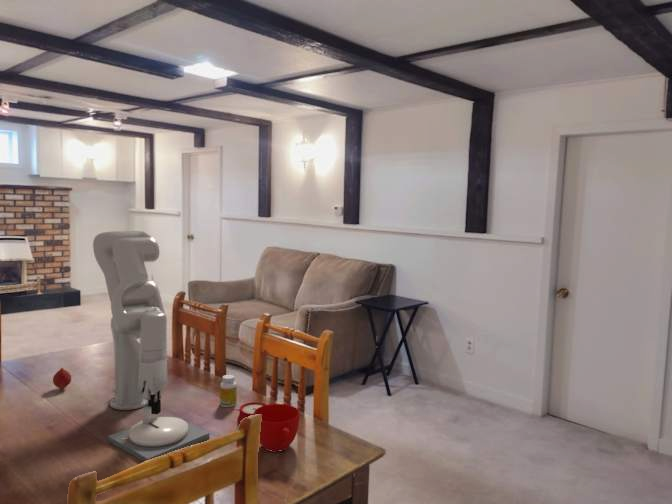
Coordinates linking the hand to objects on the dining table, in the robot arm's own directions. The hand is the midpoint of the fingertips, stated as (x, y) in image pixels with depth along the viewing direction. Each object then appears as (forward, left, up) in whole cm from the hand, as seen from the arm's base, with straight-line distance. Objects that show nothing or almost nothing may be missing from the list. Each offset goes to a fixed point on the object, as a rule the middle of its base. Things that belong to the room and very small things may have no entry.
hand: (154, 412), depth 159 cm
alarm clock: (+20, +24, -5) cm, 31 cm away
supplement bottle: (+3, +26, -5) cm, 27 cm away
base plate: (+8, -4, -5) cm, 10 cm away
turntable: (+8, -4, -3) cm, 9 cm away
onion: (-51, -4, -5) cm, 51 cm away
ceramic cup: (+38, +14, -5) cm, 41 cm away
